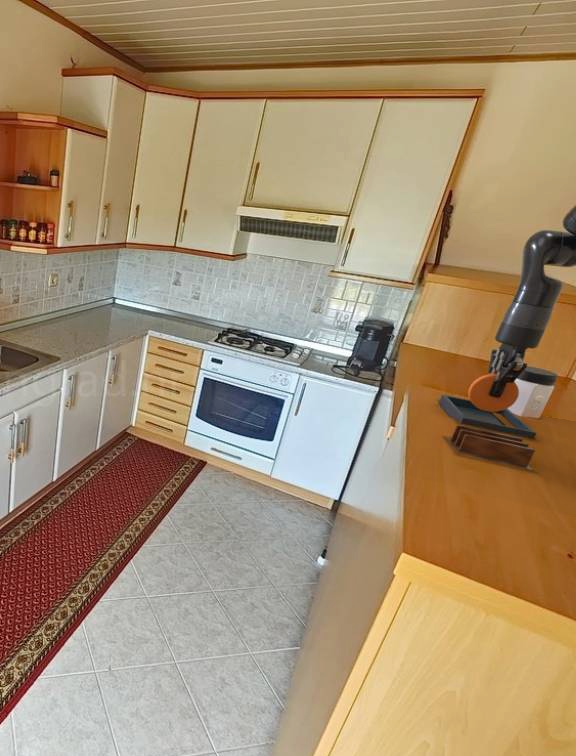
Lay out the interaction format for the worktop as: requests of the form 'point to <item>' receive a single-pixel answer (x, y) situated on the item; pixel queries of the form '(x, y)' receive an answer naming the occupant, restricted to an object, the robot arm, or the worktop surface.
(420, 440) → the worktop surface
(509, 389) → the disc
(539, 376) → the jar
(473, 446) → the rack
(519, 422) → the tray
